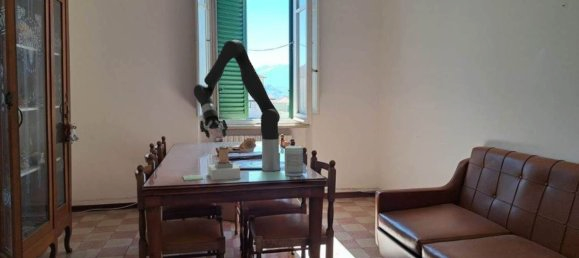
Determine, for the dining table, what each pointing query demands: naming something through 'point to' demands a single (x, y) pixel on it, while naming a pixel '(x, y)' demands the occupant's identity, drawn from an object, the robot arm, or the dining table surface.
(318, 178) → the dining table surface
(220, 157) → the tan brown block
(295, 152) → the supplement tub
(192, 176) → the sage mat
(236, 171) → the parts tub
